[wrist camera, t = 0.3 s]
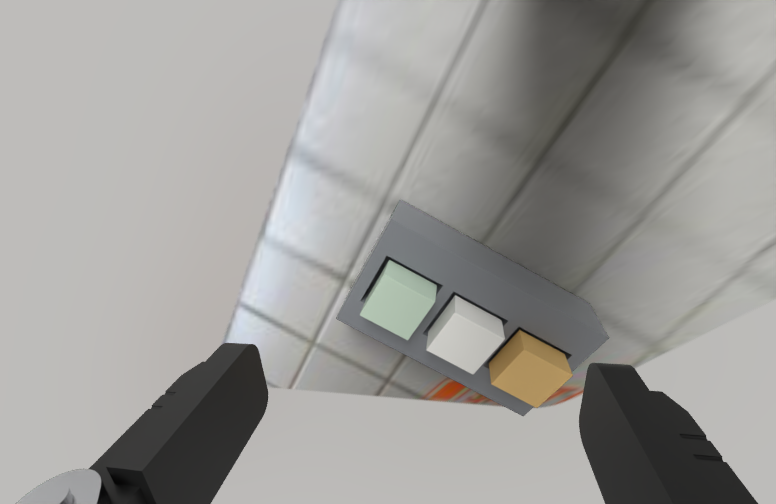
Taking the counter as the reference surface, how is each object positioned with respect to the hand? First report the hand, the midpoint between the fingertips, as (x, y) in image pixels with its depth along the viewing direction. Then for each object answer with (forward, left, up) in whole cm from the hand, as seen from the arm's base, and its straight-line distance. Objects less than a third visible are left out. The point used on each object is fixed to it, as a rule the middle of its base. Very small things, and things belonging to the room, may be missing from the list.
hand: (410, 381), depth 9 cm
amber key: (+7, +11, -14) cm, 19 cm away
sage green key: (+7, +1, -14) cm, 16 cm away
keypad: (+7, +6, -18) cm, 20 cm away
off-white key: (+7, +6, -14) cm, 17 cm away
